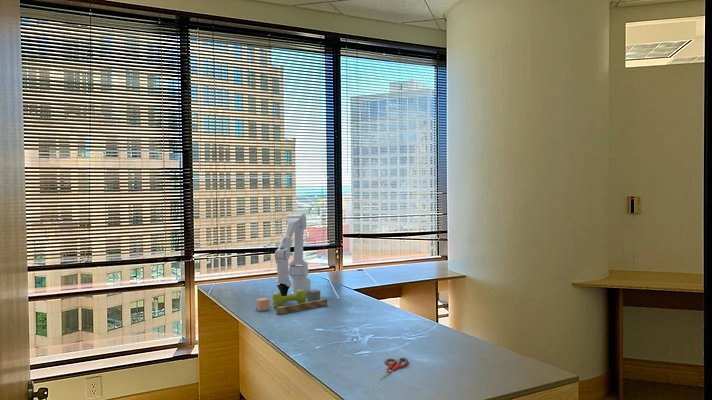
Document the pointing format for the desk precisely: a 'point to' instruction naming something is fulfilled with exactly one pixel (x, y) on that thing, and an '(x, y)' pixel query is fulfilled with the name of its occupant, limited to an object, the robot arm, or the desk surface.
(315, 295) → the charcoal block
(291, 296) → the dumbbell
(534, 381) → the desk surface
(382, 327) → the desk surface
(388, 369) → the scissors
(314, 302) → the bar
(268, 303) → the terracotta block
